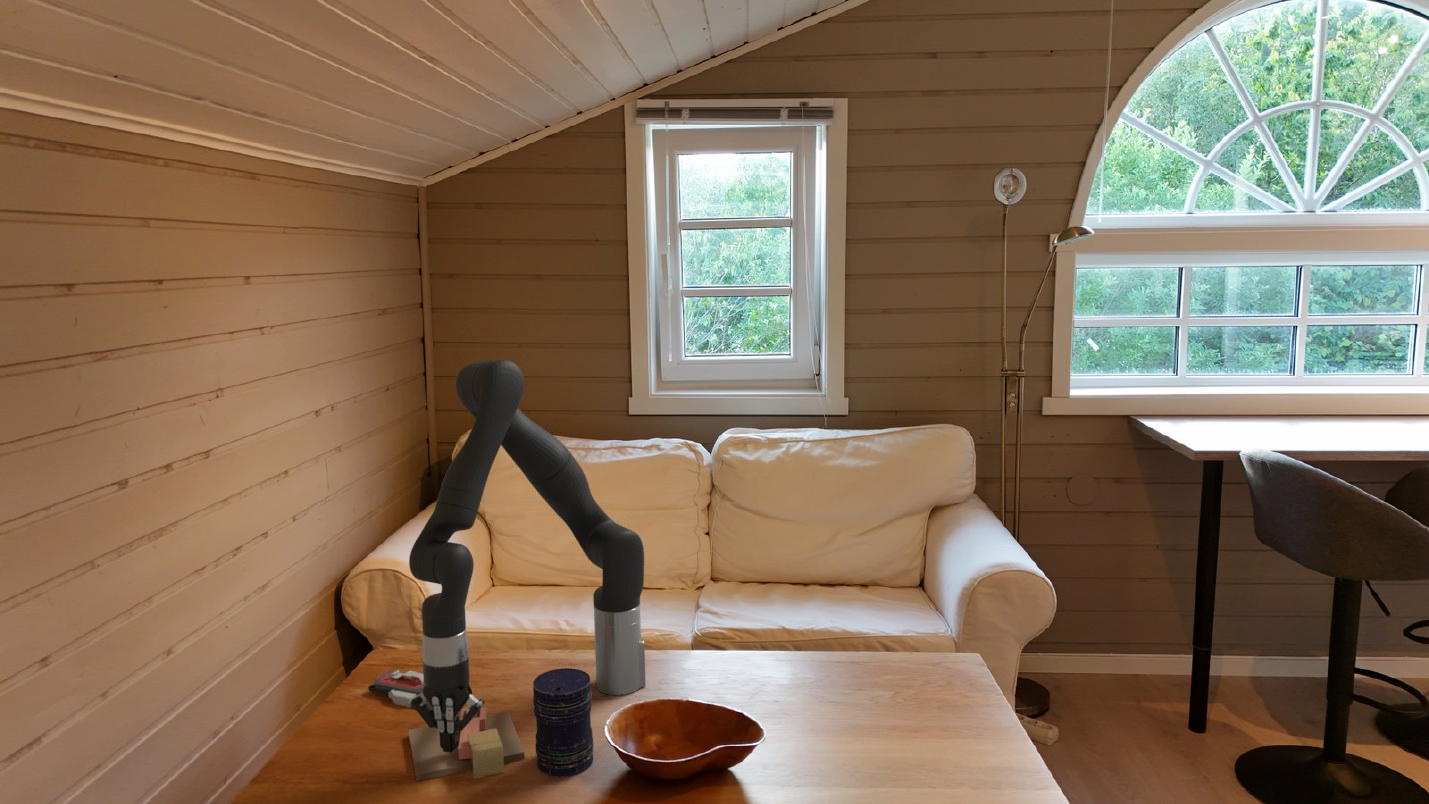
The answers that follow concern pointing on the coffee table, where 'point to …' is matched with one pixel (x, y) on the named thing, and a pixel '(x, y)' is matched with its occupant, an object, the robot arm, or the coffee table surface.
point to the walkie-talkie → (399, 686)
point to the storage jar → (563, 722)
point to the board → (440, 763)
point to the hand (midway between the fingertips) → (450, 749)
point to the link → (471, 731)
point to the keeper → (486, 753)
